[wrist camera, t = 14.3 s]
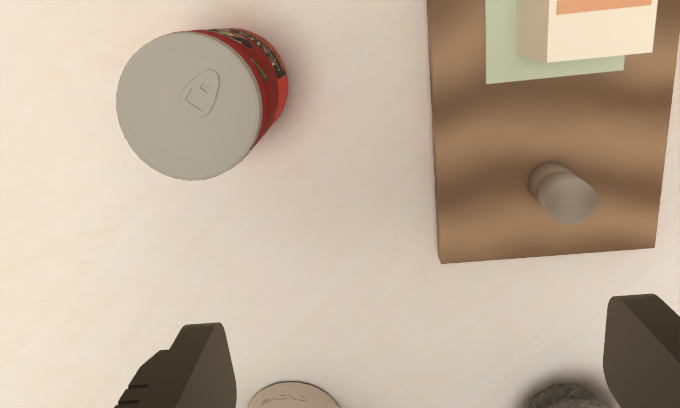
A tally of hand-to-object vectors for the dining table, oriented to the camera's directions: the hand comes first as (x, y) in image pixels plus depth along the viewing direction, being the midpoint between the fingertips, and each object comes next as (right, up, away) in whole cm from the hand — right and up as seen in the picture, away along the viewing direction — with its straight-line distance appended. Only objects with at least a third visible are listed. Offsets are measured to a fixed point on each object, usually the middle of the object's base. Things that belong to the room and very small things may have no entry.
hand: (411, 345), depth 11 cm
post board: (+13, +11, +25) cm, 31 cm away
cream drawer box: (+13, +16, +22) cm, 30 cm away
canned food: (-9, +12, +26) cm, 30 cm away
